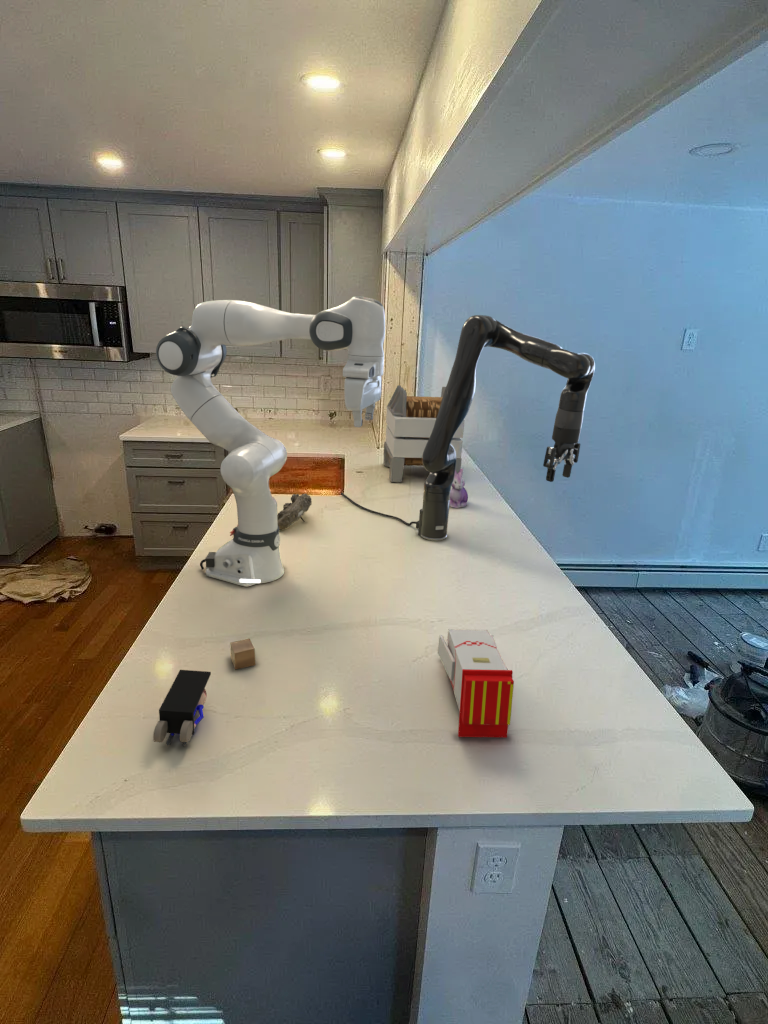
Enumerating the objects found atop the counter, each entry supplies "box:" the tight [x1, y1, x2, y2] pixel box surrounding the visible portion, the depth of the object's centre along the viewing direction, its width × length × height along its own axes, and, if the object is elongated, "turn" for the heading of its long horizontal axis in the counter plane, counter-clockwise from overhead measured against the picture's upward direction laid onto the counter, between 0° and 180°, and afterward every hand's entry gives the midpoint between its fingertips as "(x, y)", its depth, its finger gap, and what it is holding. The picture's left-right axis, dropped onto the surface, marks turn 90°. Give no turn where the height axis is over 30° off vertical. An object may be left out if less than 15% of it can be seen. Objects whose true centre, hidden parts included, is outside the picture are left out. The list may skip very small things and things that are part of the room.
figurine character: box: [152, 669, 212, 747], centre depth 104 cm, size 7×8×15 cm
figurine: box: [449, 468, 469, 509], centre depth 230 cm, size 9×10×15 cm
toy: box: [437, 628, 515, 738], centre depth 117 cm, size 12×13×30 cm
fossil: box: [277, 493, 313, 531], centre depth 205 cm, size 22×10×15 cm
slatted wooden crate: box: [383, 384, 465, 483], centre depth 268 cm, size 34×33×41 cm
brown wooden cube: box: [229, 638, 256, 671], centre depth 124 cm, size 4×4×4 cm
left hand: (363, 423), depth 143 cm, fingers open, 8 cm apart
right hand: (557, 478), depth 168 cm, fingers open, 8 cm apart
